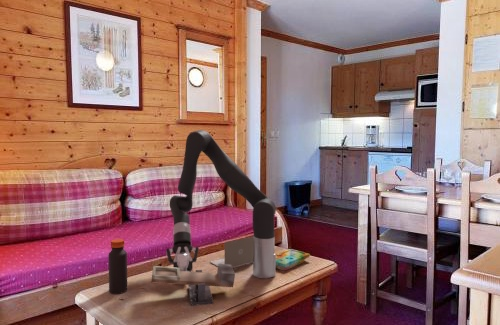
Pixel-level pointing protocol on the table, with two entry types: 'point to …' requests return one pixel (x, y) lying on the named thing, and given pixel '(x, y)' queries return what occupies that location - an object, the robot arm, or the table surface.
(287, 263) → the puzzle game
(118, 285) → the bottle
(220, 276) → the balance beam
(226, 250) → the laptop
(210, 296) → the fulcrum stand
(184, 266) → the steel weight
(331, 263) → the table surface
